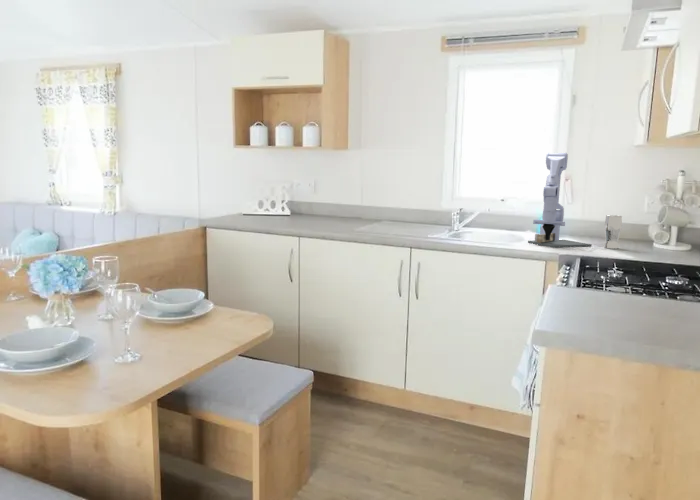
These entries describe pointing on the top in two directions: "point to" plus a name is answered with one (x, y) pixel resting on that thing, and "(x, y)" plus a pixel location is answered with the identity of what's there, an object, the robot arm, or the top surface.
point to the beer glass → (612, 231)
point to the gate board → (559, 243)
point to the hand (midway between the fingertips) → (547, 240)
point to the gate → (542, 238)
